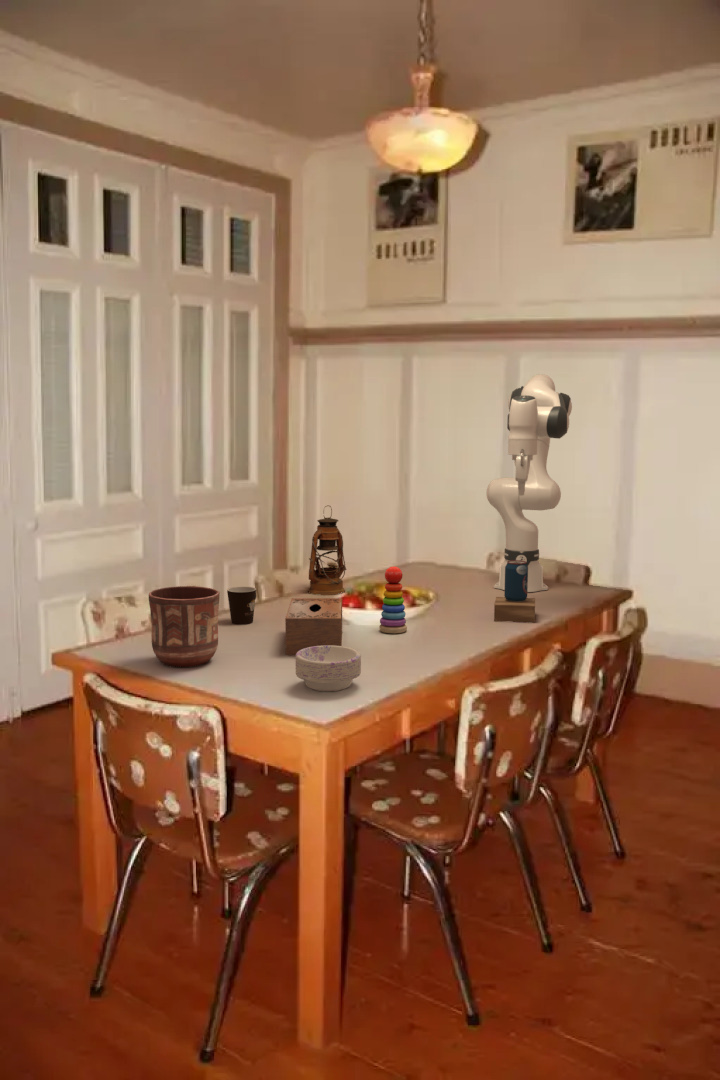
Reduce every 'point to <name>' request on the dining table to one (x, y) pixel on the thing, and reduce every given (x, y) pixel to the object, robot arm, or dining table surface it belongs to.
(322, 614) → the tissue box cover
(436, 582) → the dining table surface
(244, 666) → the dining table surface
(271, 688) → the dining table surface
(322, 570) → the lantern
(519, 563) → the soda can
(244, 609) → the coffee mug
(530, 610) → the block
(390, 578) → the stacking toy
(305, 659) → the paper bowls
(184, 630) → the pottery
